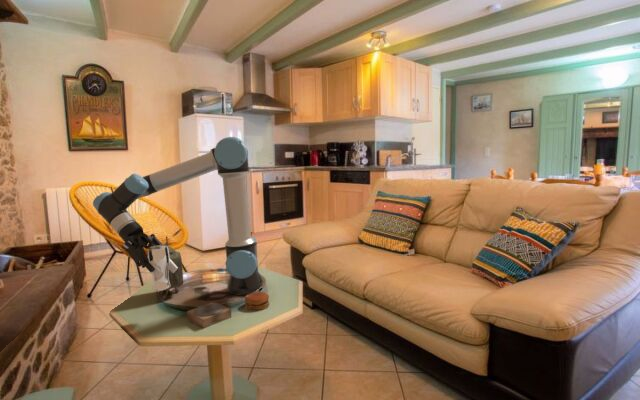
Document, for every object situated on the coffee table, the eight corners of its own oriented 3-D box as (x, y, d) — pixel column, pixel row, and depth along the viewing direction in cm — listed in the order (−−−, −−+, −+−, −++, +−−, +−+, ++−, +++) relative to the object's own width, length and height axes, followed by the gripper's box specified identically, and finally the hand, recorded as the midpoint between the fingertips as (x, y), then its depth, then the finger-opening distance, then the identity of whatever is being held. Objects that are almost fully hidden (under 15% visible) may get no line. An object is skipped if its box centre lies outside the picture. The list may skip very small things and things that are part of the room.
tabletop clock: (160, 290, 159) (155, 234, 156) (182, 286, 163) (177, 232, 160) (160, 301, 146) (155, 241, 143) (184, 297, 150) (180, 238, 147)
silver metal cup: (159, 292, 125) (155, 250, 123) (146, 289, 128) (143, 248, 127) (176, 286, 131) (172, 245, 129) (163, 283, 134) (160, 244, 133)
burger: (271, 308, 136) (271, 296, 135) (246, 312, 133) (246, 300, 132) (267, 299, 145) (266, 288, 145) (243, 303, 142) (243, 291, 142)
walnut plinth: (214, 309, 137) (214, 300, 136) (231, 317, 129) (230, 308, 129) (187, 319, 128) (186, 310, 128) (203, 328, 121) (202, 319, 121)
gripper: (142, 229, 141) (181, 271, 138) (99, 241, 123) (142, 290, 120) (152, 216, 139) (191, 259, 136) (109, 226, 120) (153, 275, 117)
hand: (168, 273), depth 128 cm, fingers closed on silver metal cup, 7 cm apart
